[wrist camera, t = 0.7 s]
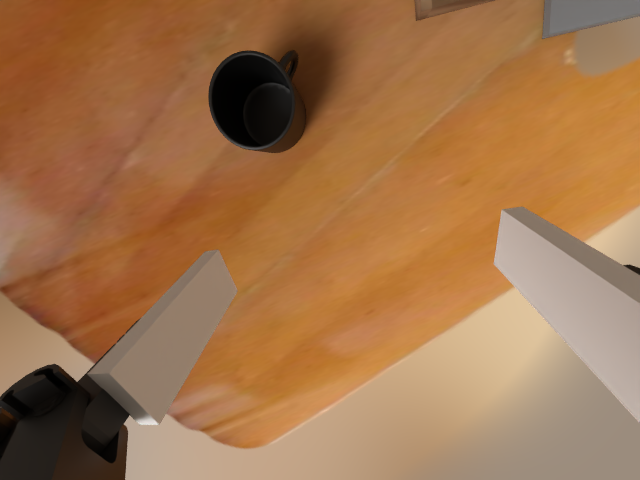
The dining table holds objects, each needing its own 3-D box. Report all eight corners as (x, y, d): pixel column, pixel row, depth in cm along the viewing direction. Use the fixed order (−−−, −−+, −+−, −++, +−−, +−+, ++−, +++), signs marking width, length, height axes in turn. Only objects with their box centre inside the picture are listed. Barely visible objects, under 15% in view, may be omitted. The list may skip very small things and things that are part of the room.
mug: (331, 91, 33) (328, 66, 24) (282, 166, 36) (264, 167, 28) (273, 43, 32) (248, -1, 23) (228, 125, 35) (192, 114, 27)
